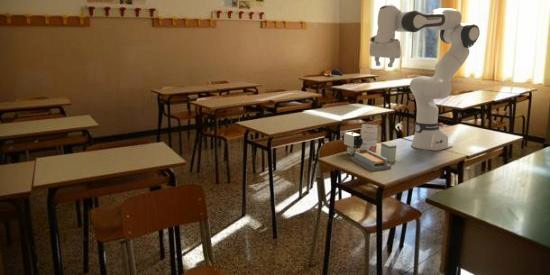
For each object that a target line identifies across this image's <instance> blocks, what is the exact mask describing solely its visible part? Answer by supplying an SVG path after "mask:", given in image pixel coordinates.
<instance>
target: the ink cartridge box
mask: <svg viewBox="0 0 550 275" xmlns="http://www.w3.org/2000/svg"><path fill="white" fill-rule="evenodd" d="M360 135H362V136H361V137H362V139H363V143H362V145H361V147H360V151H363V150H370V151H372V152H377V147H378V146H377V145H378V125H377V124H365V123H364V124H361V130H360Z"/></svg>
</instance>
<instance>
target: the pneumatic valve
mask: <svg viewBox="0 0 550 275" xmlns="http://www.w3.org/2000/svg"><path fill="white" fill-rule="evenodd" d="M361 136H362V135H361V134H359V133H356V132H354V131H347V132H346V131H344V132H343V134H342V136H341V140H342V144H343V145H346V146H347V147H346V151H347V152H346V153H347V154H349V155H355V152H358V151H357V148H361V145H362V143H363V139H362V137H361Z"/></svg>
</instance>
